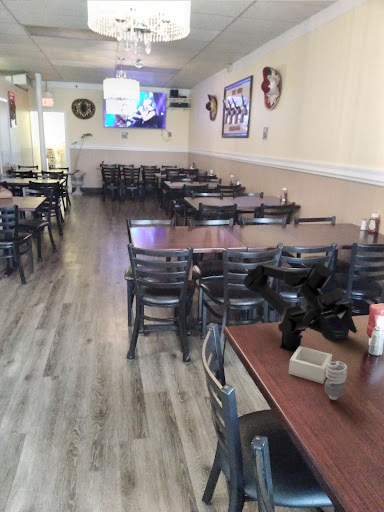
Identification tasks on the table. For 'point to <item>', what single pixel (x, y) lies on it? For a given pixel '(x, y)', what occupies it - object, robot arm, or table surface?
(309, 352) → the white open box
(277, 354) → the table surface
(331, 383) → the light bulb
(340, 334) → the storage jar
